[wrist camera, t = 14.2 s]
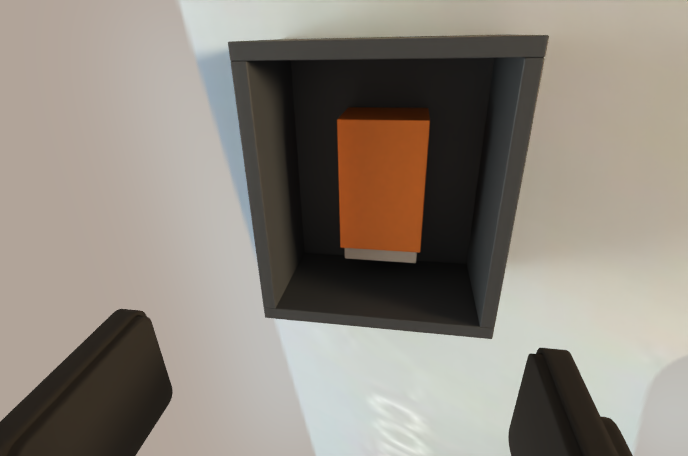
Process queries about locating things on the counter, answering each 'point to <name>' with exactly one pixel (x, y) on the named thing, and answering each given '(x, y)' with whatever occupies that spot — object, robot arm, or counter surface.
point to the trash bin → (441, 176)
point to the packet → (382, 181)
